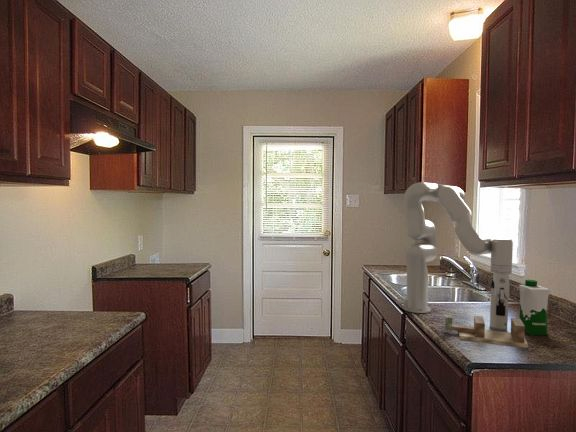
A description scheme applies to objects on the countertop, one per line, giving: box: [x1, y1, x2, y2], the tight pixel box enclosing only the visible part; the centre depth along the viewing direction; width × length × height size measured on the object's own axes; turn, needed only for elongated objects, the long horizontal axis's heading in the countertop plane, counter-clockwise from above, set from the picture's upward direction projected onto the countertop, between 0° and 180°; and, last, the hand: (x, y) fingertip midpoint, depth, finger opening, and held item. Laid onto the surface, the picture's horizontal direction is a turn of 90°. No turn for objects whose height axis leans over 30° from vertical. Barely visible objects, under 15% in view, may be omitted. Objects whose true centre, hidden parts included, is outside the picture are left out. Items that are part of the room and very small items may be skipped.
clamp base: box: [458, 317, 529, 349], centre depth 147 cm, size 22×12×7 cm, turn 67°
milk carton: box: [518, 279, 551, 336], centre depth 155 cm, size 9×9×20 cm
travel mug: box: [489, 280, 511, 332], centre depth 158 cm, size 6×7×20 cm
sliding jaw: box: [444, 313, 486, 337], centre depth 151 cm, size 13×10×5 cm
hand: (499, 312), depth 158 cm, fingers closed on travel mug, 6 cm apart
